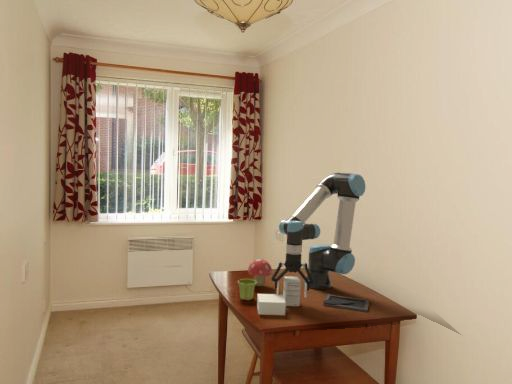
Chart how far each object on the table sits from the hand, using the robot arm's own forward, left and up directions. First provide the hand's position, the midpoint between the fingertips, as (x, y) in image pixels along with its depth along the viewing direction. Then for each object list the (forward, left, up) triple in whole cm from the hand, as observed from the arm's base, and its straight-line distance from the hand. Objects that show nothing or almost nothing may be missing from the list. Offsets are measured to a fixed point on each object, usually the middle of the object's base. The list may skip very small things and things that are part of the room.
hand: (291, 296), depth 206 cm
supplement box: (0, 0, -4) cm, 4 cm away
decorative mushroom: (+16, -26, -4) cm, 31 cm away
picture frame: (-28, -5, -4) cm, 29 cm away
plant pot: (+22, -4, -4) cm, 23 cm away
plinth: (+10, +11, -4) cm, 15 cm away
